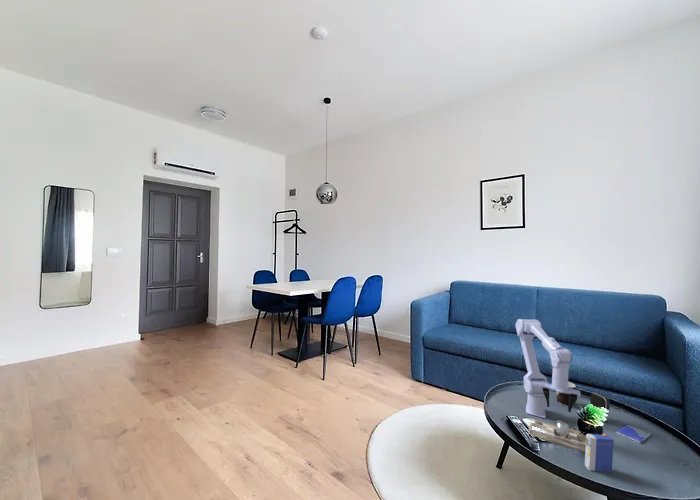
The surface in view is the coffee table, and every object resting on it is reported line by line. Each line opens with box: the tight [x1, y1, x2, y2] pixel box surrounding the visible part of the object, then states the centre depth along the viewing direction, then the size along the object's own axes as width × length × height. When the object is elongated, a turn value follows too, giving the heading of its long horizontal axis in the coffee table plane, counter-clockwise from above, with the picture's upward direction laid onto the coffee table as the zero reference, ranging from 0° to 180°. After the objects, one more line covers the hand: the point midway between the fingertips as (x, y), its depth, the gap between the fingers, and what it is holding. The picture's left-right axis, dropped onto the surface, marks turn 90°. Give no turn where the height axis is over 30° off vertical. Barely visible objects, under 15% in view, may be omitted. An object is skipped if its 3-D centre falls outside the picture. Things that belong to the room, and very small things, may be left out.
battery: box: [589, 392, 611, 423], centre depth 149 cm, size 7×4×11 cm, turn 13°
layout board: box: [528, 417, 586, 453], centre depth 134 cm, size 14×24×4 cm, turn 61°
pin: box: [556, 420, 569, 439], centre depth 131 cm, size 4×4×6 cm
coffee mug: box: [555, 381, 576, 405], centre depth 162 cm, size 12×9×10 cm
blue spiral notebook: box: [615, 425, 644, 443], centre depth 137 cm, size 2×8×12 cm
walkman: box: [584, 433, 615, 473], centre depth 115 cm, size 8×3×12 cm, turn 86°
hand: (558, 408), depth 138 cm, fingers open, 7 cm apart
